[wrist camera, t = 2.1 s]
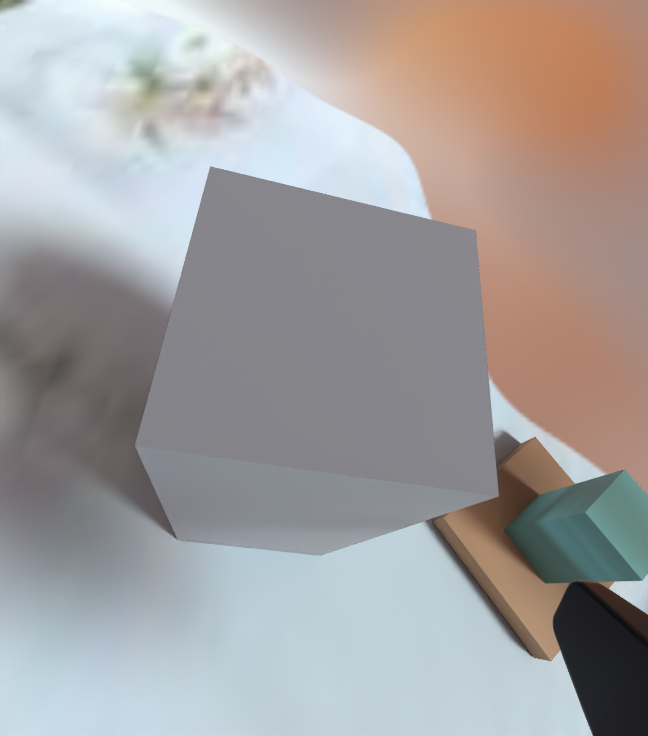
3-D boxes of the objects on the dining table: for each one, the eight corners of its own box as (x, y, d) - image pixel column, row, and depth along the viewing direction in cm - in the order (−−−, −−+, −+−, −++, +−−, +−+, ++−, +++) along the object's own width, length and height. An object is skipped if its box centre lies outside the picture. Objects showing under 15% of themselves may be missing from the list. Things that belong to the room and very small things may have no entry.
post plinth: (533, 657, 18) (658, 681, 13) (432, 521, 19) (510, 496, 14) (616, 556, 20) (746, 545, 15) (521, 443, 22) (613, 399, 17)
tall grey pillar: (320, 555, 17) (498, 496, 7) (177, 539, 17) (135, 445, 6) (330, 423, 20) (475, 230, 9) (206, 404, 19) (210, 166, 8)
